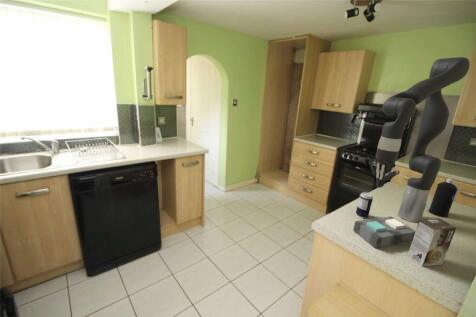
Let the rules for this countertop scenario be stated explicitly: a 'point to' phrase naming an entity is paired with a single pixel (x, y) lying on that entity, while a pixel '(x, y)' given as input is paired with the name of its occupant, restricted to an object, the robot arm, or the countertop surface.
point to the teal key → (376, 226)
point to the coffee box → (431, 241)
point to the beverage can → (364, 205)
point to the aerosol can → (443, 198)
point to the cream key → (395, 223)
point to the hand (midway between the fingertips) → (378, 186)
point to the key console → (383, 233)
